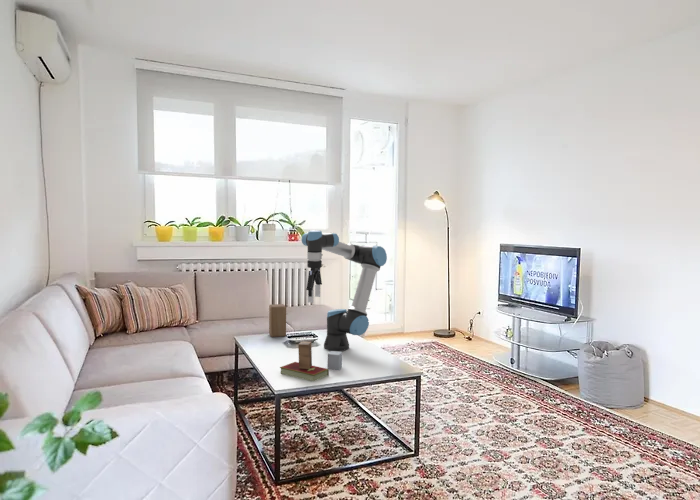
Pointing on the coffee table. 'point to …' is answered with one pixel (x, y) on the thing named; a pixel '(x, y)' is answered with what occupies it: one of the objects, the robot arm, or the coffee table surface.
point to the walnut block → (305, 355)
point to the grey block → (334, 360)
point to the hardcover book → (304, 371)
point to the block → (277, 320)
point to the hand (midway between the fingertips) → (314, 299)
